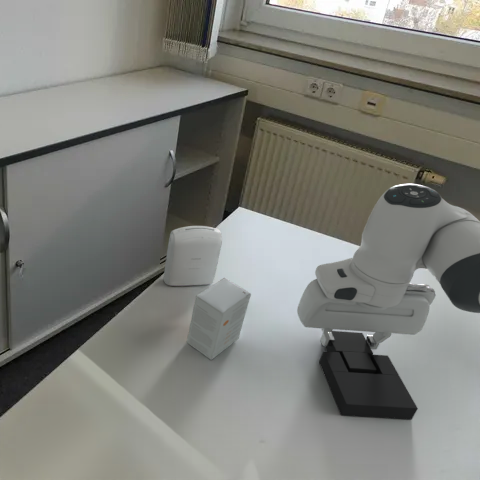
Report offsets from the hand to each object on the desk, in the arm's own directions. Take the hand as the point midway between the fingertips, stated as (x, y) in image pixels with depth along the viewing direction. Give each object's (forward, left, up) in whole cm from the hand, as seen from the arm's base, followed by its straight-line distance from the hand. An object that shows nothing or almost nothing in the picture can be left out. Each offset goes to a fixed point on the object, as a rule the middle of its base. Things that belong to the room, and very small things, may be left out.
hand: (347, 345), depth 93 cm
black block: (+1, +2, -2) cm, 3 cm away
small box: (+20, -12, -2) cm, 23 cm away
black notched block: (+4, +7, -2) cm, 8 cm away
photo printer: (+14, -28, -2) cm, 31 cm away
